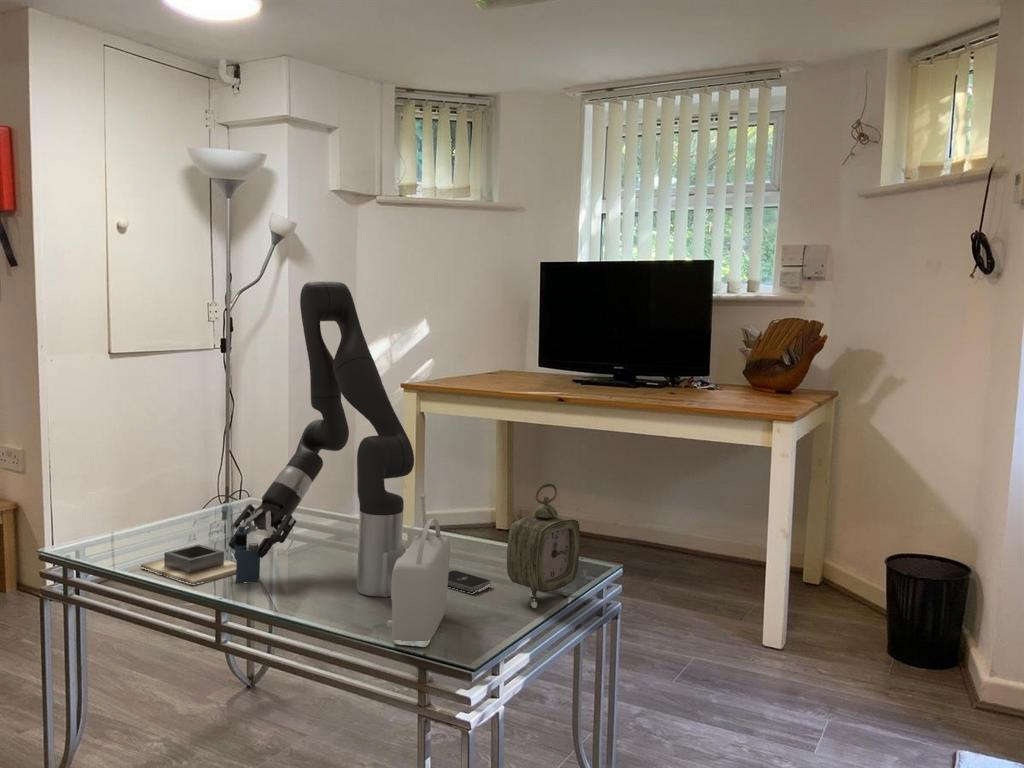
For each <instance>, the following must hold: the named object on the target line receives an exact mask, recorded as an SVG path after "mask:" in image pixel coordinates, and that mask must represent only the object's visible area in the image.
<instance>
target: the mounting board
mask: <svg viewBox="0 0 1024 768" xmlns="http://www.w3.org/2000/svg"><path fill="white" fill-rule="evenodd" d="M141 567H144V568H146V569H149V570H151V571H154V572H157V573H159V574H162V575H165V576H168V577H172V578H174V579H178V580H181V581H184V582H188V583H191V584H197V583H201V582H205V583H208V582H207V581H209V582H212V581H215V579H216V580H218V579H219V580H220V579H223V578H225V577H226V578H227V577H229V576H232V575H236V562H234V561H232V560H227V559H225V558H224V565H221V566H217V567H214V568H210V569H206V570H203V571H199V572H195V573H192V574H188V573H185V572H182V571H178V570H175V569H172V568H169V567H166V566H164V558H162V559H159V560H157V559H156V560H153V561H150V562H145V563H142V564H140V568H141ZM211 580H212V581H211Z"/></svg>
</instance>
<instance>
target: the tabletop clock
mask: <svg viewBox="0 0 1024 768" xmlns="http://www.w3.org/2000/svg"><path fill="white" fill-rule="evenodd" d="M548 487H551V488H552V489H554V494H553V496H552V497H551V498H549V496H544V497H543V500H540V499H539V494H540V493H541V490H543V489H544V488H548ZM557 495H558V488H557V486H556V485H555V484H553V483H551V482H550V483H544V484H541V486H540V487H538V489H537V490H536V493H535V500H536V501H537V503H538V504H539V505H538V506H537V507H536V508H535V509H534V510H533V513H532V514H530V515H528V516H525V517H523V518H521V519H518V520H515V521H514V522H512V524H510V527H509V530H508V536H507V546H506V547H507V549H506V571H507V575H508V578H509V579H510V580H511V582H512V583H514V584H516V585H520V586H523V587H526V588H530V591H531V590H532V595H533V598H532V600H533V599H535V598H536V597H537V594H536V593H537V591H538V592H542V593H548V592H552V591H555V590H559V589H561V587H566V586H568V585H569V584H570V583H572V582H573V581H574V580H575V579H576V576H577V572H578V569H579V568H578V567H579V562H580V561H579V560H580V551H581V546H580V545H581V533H580V532H581V530H580V523H579V521H578V520H577V519H573V518H569V517H564V516H559V515H558V510H557V509H556V508H555V507H554V506H553V505H551V504H550V503H552V502H553V501H555V499H556V497H557ZM536 599H537V598H536Z"/></svg>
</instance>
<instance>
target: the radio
mask: <svg viewBox="0 0 1024 768" xmlns="http://www.w3.org/2000/svg"><path fill="white" fill-rule="evenodd" d="M420 498H421V509H422V510H421V511H422V512H421V513H422V526H423V527H422V528H423V529H421V530H420V531H419V535H418V536H416V538H415V539H414V540H413V542H412V543H411V544H410V545H409V547H408V548H406V552H405V553H404V554H403V555H402V556H401V558H398V559H397V560H396V563H395V565H394V568H393V574H392V581H391V595H390V600H391V608H392V609H391V619H390V620H389V619H388V620H387V621H386V627H387V628H391V640H392V639H393V640H401V641H428V640H430V639H431V638H432V636H433V635H434V636H435V634H434V633H436V632H437V630H438V628H439V626H440V624H441V622H442V621H443V618H444V616H445V615H446V611H447V601H448V600H447V599H448V590H449V588H448V573H449V571H450V570H449V569H450V556H451V555H450V553H451V541H450V539H449V537H447V536H442V535H441V527H440V524H439V521H438V520H437V518H429V519H428V520H427V516H426V515H427V514H426V494H425V493H420ZM432 523H433V526H434V529H435V535H430V527H431V525H432ZM435 631H436V632H435ZM434 636H433V637H434ZM432 639H433V638H432ZM393 640H392V641H393Z"/></svg>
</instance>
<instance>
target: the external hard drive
mask: <svg viewBox="0 0 1024 768" xmlns="http://www.w3.org/2000/svg"><path fill="white" fill-rule="evenodd" d="M490 583H492V582H491V579H488V578H485V577H481V576H479V575H478V576H477V575H473V574H471V573H467V572H464V571H460V570H455V569H452V570H449V573H448V587H451V588H455V589H458V590H462V591H465V592H470V593H473V592H475V591H476V590H479V589H481V588H483V587H485V586H486V585H488V584H490ZM451 588H450V589H451Z"/></svg>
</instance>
